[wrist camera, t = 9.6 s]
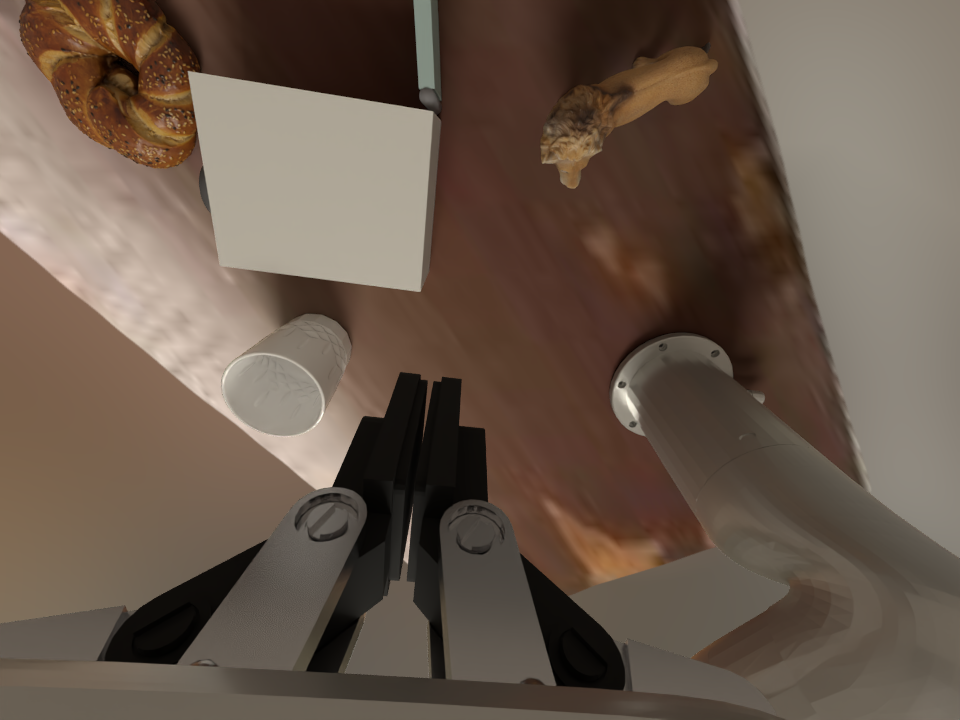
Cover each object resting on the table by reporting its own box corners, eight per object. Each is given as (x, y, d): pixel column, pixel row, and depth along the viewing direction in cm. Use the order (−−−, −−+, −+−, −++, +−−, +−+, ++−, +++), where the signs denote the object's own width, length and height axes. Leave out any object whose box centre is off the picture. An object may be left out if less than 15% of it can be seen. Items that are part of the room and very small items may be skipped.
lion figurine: (544, 190, 33) (567, 200, 25) (514, 129, 31) (528, 118, 23) (715, 81, 30) (803, 52, 22) (694, 4, 28) (783, -59, 20)
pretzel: (240, 159, 32) (214, 159, 29) (114, 176, 33) (74, 178, 29) (169, -38, 27) (127, -65, 23) (18, -14, 27) (-45, -37, 24)
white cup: (285, 375, 41) (233, 435, 32) (272, 304, 37) (209, 349, 29) (360, 379, 41) (329, 439, 32) (354, 309, 38) (317, 355, 29)
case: (441, 120, 31) (433, 111, 25) (429, 270, 36) (420, 291, 30) (228, 86, 30) (167, 67, 24) (248, 246, 35) (203, 263, 29)
